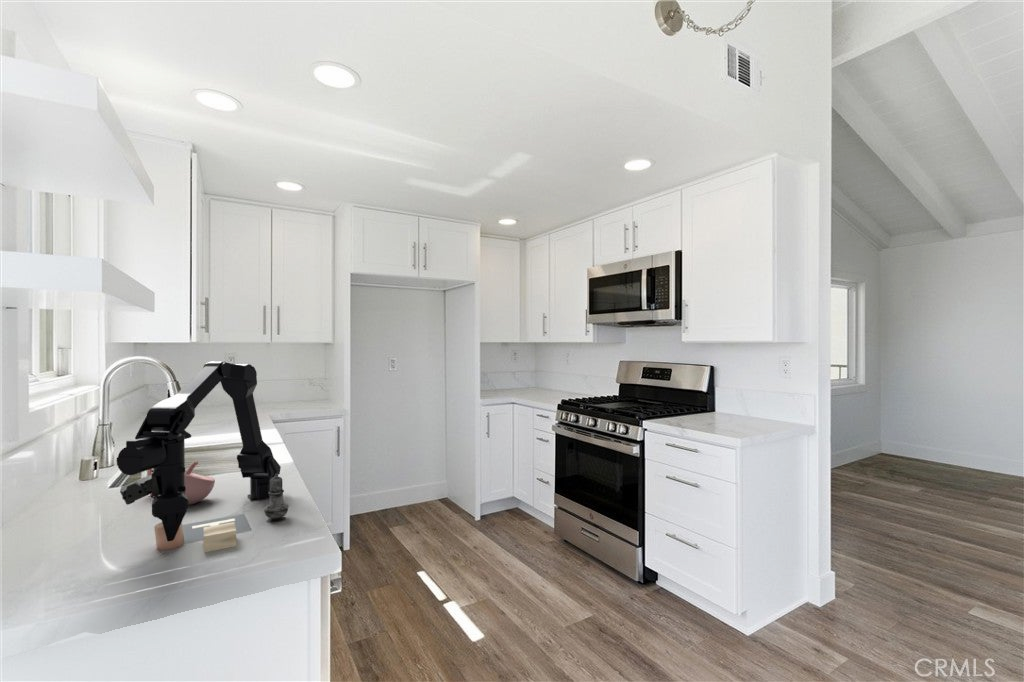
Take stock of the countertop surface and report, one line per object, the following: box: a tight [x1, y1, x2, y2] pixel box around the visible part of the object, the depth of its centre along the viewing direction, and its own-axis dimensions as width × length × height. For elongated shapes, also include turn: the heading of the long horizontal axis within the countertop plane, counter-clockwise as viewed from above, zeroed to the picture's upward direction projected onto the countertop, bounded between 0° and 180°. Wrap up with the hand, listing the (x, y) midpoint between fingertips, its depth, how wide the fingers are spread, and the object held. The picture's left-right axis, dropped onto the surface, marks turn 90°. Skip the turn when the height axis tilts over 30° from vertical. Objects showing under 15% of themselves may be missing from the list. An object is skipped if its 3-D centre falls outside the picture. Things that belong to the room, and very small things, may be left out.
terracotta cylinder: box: [153, 521, 185, 551], centre depth 111 cm, size 5×5×5 cm
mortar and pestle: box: [185, 460, 216, 506], centre depth 141 cm, size 12×12×12 cm
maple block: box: [203, 522, 237, 553], centre depth 112 cm, size 6×6×4 cm
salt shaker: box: [263, 473, 290, 524], centre depth 127 cm, size 6×6×12 cm
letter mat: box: [182, 513, 253, 545], centre depth 122 cm, size 14×14×1 cm
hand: (170, 533), depth 112 cm, fingers open, 9 cm apart
